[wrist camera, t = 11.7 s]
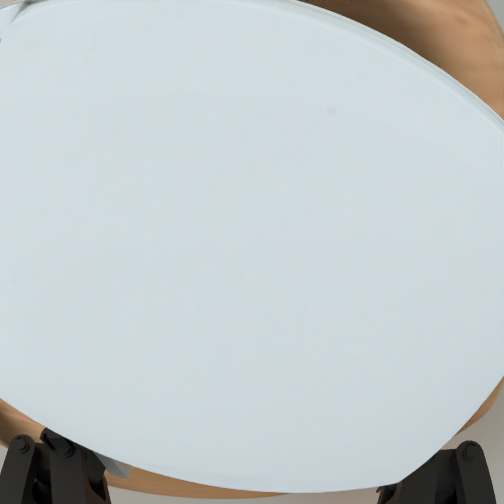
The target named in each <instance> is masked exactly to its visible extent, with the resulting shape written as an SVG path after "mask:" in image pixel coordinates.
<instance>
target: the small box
mask: <svg viewBox="0 0 504 504" xmlns="http://www.w3.org/2000/svg"><path fill="white" fill-rule="evenodd" d="M503 376H504V120H503V119H502V118H501V117H500V116H499V115H498V114H496V113H495V112H494V111H493V110H492V109H491V108H490V107H489V106H488V105H487V104H486V103H484V102H483V101H482V100H481V99H480V98H479V97H477V96H476V95H475V94H474V93H472V92H471V91H470V90H469V89H467V88H466V87H465V86H463V85H462V84H461V83H459V82H458V81H457V80H455V79H454V78H453V77H451V76H450V75H449V74H447V73H446V72H445V71H443V70H442V69H440V68H439V67H437V66H436V65H434V64H432V63H431V62H429V61H427V60H426V59H424V58H422V57H421V56H420V55H418V54H417V53H415V52H414V51H412V50H411V49H409V48H408V47H406V46H404V45H403V44H401V43H399V42H397V41H395V40H393V39H392V38H390V37H388V36H386V35H384V34H382V33H380V32H378V31H375V30H373V29H371V28H369V27H367V26H365V25H363V24H361V23H358V22H356V21H354V20H351V19H349V18H347V17H344V16H342V15H339V14H337V13H334V12H332V11H329V10H326V9H323V8H320V7H317V6H314V5H311V4H308V3H304V2H301V1H298V0H18V1H15V2H12V3H10V4H7V5H4V6H1V7H0V398H1V399H3V400H4V401H6V402H7V403H8V404H10V405H11V406H13V407H14V408H16V409H17V410H19V411H20V412H22V413H23V414H25V415H27V416H28V417H30V418H31V419H33V420H35V421H37V422H38V423H40V424H42V425H44V426H45V427H47V428H49V429H50V430H52V431H54V432H56V433H58V434H60V435H61V436H63V437H65V438H67V439H69V440H71V441H73V442H76V443H78V444H80V445H82V446H84V447H86V448H88V449H90V450H93V451H95V452H97V453H99V454H102V455H104V456H107V457H110V458H112V459H115V460H117V461H120V462H123V463H126V464H129V465H132V466H135V467H138V468H141V469H144V470H147V471H151V472H154V473H158V474H161V475H165V476H169V477H173V478H177V479H182V480H186V481H191V482H195V483H200V484H205V485H211V486H217V487H223V488H231V489H239V490H249V491H264V492H284V493H317V492H330V491H345V490H355V489H363V488H370V487H377V486H384V485H389V484H394V483H398V482H400V481H401V480H403V479H404V478H405V477H407V476H408V475H410V474H411V473H412V472H414V471H415V470H416V469H418V468H419V467H420V466H421V465H423V464H424V463H425V462H426V461H427V460H429V459H430V458H431V457H432V456H433V455H434V454H435V453H436V452H437V451H439V450H440V449H441V448H442V447H443V446H444V445H445V444H446V443H447V442H448V441H449V440H450V439H451V438H452V437H453V436H454V435H455V434H456V433H457V432H458V431H459V430H460V429H461V428H462V426H463V425H464V424H465V423H466V422H467V421H468V420H469V419H470V418H471V417H472V415H473V414H474V413H475V412H476V411H477V410H478V408H479V407H480V406H481V405H482V404H483V402H484V401H485V400H486V399H487V398H488V396H489V395H490V394H491V392H492V391H493V390H494V388H495V387H496V386H497V384H498V383H499V382H500V380H501V379H502V377H503Z"/></svg>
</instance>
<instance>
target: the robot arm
mask: <svg viewBox="0 0 504 504" xmlns="http://www.w3.org/2000/svg"><path fill="white" fill-rule="evenodd" d="M40 439H41V440H42V442H43V443H44V444H43V443H35V442H34V441H33V439H32V438H31V437H30V436H28V435H23V434H21V435H18V436H16V437H15V438H13V440H12V441H11V443H10V446H9V449H8V452H7V455H6V458H5V461H4V464H3V468H2V470H1V474H0V504H111V501H110V496H109V491H108V487H107V481H106V479H105V476H104V475H103V474H104V471H105V469H107V471H108V472H109V473H110V474H111V475H115V476H118V477H122V478H126V479H128V476H129V473H130V470H131V467H132V465H129V464H126V463H123V462H120V461H117V460H115V459H112V458H110V457H107V456H104V455H102V454H99V453H97V452H95V451H93V450H90V449H88V448H86V447H84V446H82V445H80V444H78V443H76V442H73V441H71V440H69V439H67V438H65V437H63V436H61V435H60V434H58V433H56V432H54V431H52V430H50V429H49V428H47V427H46V428H45V429H44V430H43V431H42V433H41V435H40ZM380 490H381V492H380V496H379V500H378V503H377V504H496V499H495V494H494V490H493V485H492V481H491V477H490V473H489V470H488V466H487V463H486V459H485V456H484V453H483V450H482V448H481V446H480V445H479V444H478V443H477V442H474V441H465V442H462V443H461V444H460V445H459V446H458V447H457V449H449V450H439V451H437V452H436V453H435V454H434V455H433V456H432V457H431V458H430V459H429V460H427V461H426V462H425V463H424V464H423V465H421V466H420V467H419V468H418V469H416V470H415V471H414V472H412V473H411V474H410V475H408V476H407V477H405V478H404V479H403V480H401V481H400V482H398V483H394V484H389V485H384V486H379V488H378V489H377V491H376V492H377V493H378V492H379V491H380Z"/></svg>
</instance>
